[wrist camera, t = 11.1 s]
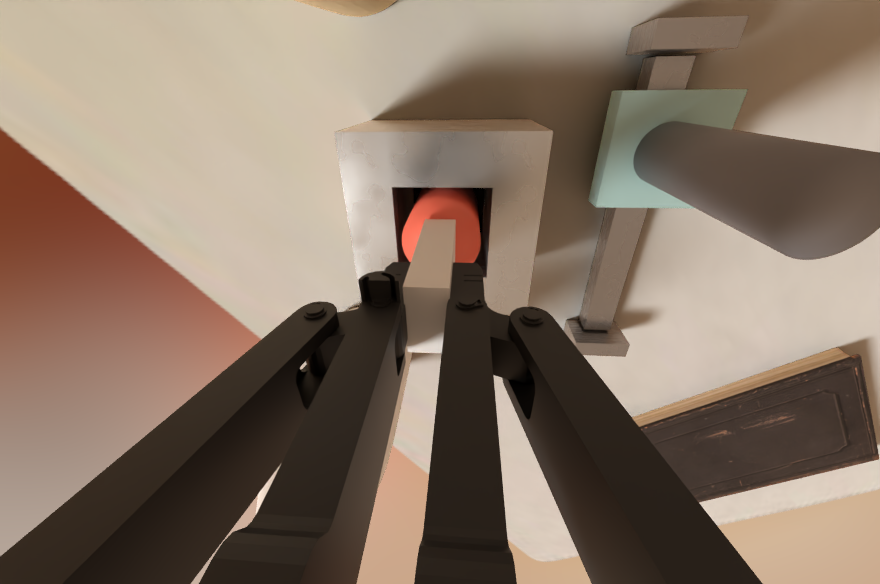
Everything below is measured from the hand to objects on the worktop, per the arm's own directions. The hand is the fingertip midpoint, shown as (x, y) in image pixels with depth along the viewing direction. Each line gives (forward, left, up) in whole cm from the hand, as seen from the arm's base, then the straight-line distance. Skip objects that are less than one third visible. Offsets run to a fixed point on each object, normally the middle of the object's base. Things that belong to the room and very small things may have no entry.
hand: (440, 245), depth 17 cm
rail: (+1, +12, -8) cm, 15 cm away
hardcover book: (+25, +28, -9) cm, 38 cm away
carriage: (-4, +12, -8) cm, 15 cm away
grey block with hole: (0, 0, -8) cm, 8 cm away
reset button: (0, 0, -6) cm, 6 cm away
